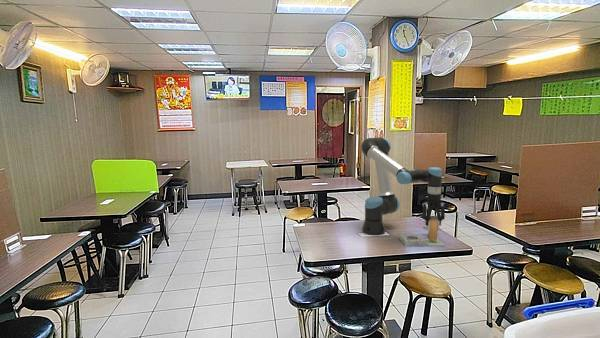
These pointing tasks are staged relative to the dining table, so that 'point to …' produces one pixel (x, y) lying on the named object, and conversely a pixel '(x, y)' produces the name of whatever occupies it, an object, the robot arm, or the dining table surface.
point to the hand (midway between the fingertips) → (432, 230)
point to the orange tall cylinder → (433, 228)
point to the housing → (412, 240)
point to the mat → (433, 243)
